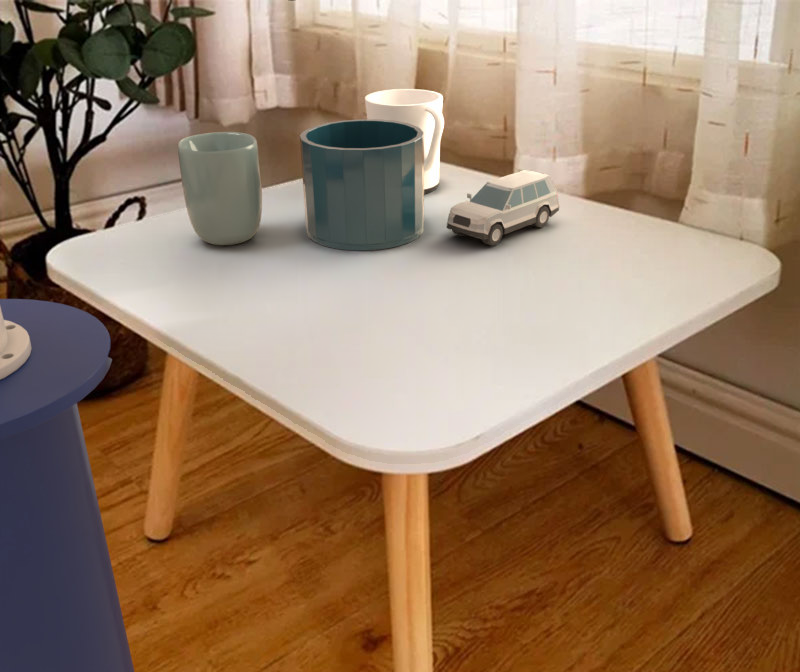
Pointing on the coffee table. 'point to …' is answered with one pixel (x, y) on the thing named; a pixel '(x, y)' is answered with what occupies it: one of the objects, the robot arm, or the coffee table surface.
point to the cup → (222, 185)
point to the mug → (414, 121)
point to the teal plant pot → (363, 183)
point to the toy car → (505, 206)
